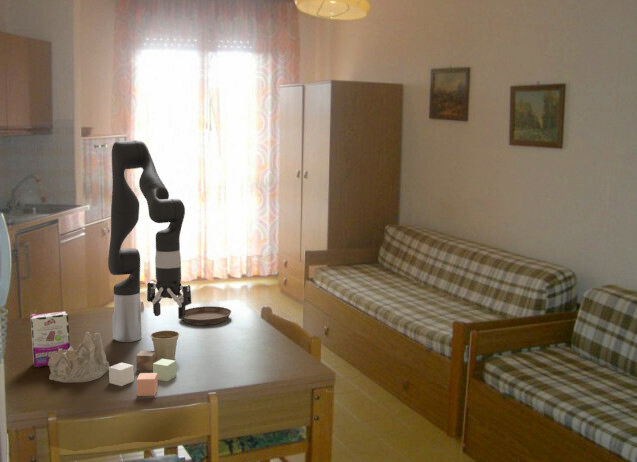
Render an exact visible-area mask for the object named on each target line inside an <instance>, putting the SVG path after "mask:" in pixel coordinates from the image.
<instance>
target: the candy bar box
mask: <svg viewBox="0 0 637 462" xmlns="http://www.w3.org/2000/svg"><path fill="white" fill-rule="evenodd" d="M29 317H30V318H29V319H30V329H31V332H30V333H31V343H32V344H31V347H32V348H31V349H32V360H33V361H32V363H33V367H34V368H35V367H38V368H44V367H43V366H45V367H49V366H48V362H49V359H50V356H51V353H58V349H61V348H62V349H63V353H65V352H66V351H67V350H68V349H69V348H70V346H71V344H70V328H69V314H68V312H67V311H58V312H57V311H56V312H48V313H41V314H40V313H39V314H30V316H29Z"/></svg>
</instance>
